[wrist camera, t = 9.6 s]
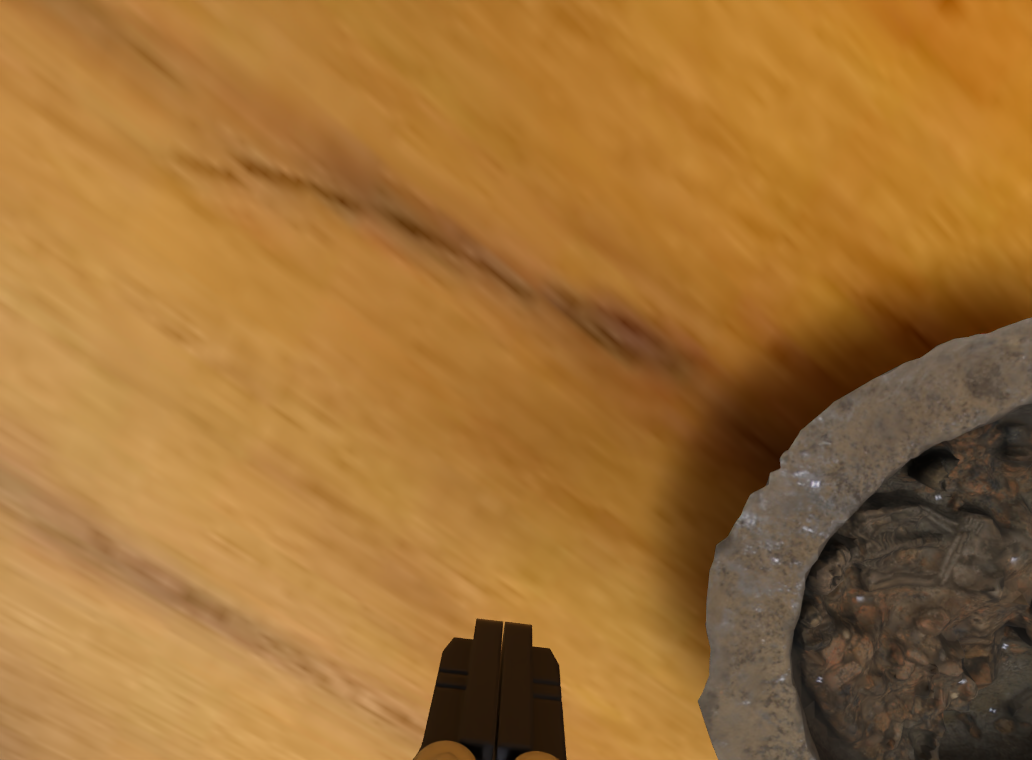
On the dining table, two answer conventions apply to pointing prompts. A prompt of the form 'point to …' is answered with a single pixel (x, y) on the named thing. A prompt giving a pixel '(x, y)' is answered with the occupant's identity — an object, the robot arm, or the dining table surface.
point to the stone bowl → (887, 573)
